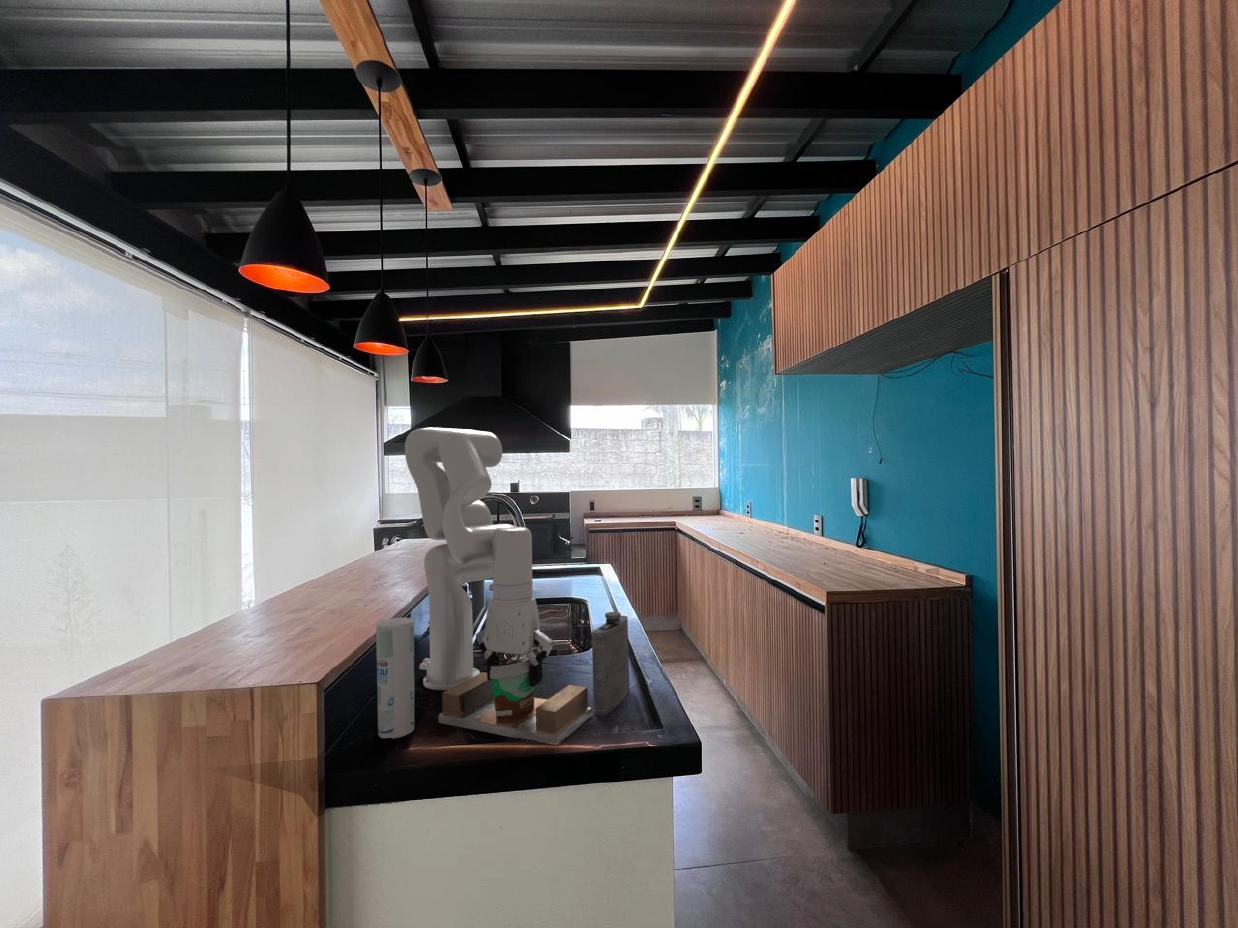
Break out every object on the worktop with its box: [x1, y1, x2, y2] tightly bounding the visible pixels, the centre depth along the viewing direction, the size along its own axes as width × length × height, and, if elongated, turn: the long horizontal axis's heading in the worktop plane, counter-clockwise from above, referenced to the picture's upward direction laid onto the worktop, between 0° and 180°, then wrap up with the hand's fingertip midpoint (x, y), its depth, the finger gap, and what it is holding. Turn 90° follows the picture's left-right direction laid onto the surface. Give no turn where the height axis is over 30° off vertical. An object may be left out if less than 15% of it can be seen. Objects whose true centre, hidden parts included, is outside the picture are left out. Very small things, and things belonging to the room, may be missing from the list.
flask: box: [591, 611, 631, 717], centre depth 111 cm, size 4×14×18 cm, turn 158°
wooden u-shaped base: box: [438, 671, 592, 743], centre depth 103 cm, size 26×13×6 cm, turn 66°
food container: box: [490, 654, 535, 720], centre depth 103 cm, size 12×6×10 cm, turn 164°
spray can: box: [375, 617, 415, 740], centre depth 100 cm, size 6×6×20 cm
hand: (514, 680), depth 104 cm, fingers open, 9 cm apart
